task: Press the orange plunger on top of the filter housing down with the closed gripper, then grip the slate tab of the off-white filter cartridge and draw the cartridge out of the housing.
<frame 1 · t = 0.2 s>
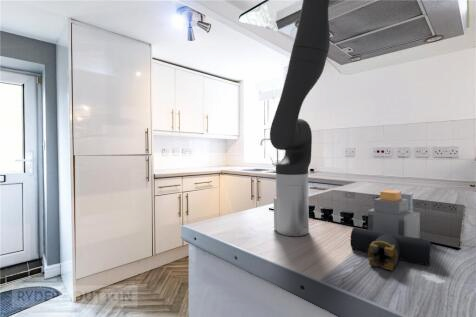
housing: (393, 239, 66), on the counter
plunger: (390, 197, 64), point 12 cm above the counter, slide at 0.0 cm
pipe connector: (385, 261, 55), on the counter
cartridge: (396, 215, 67), point 6 cm above the counter, slide at 0.0 cm
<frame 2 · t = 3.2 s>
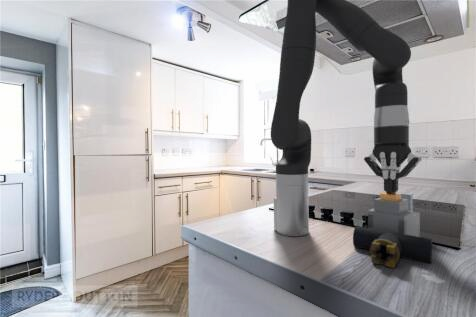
hand: (391, 193, 64), 13 cm above the counter, tool pointing down, fingers closed
plunger: (390, 199, 64), point 11 cm above the counter, slide at 0.5 cm, touching gripper
pipe connector: (387, 259, 56), on the counter
everything else where it was.
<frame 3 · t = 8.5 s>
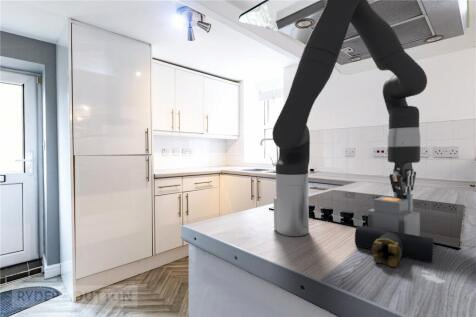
hand: (403, 207, 70), 8 cm above the counter, tool pointing down, fingers closed on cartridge
plunger: (390, 204, 64), point 10 cm above the counter, slide at 2.0 cm
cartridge: (396, 215, 67), point 6 cm above the counter, slide at 0.0 cm, touching gripper
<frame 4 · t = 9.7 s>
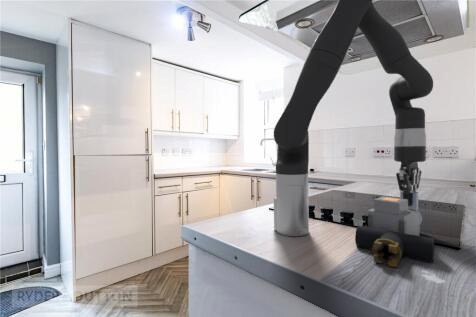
hand: (409, 204, 73), 8 cm above the counter, tool pointing down, fingers closed on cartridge
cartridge: (402, 212, 70), point 6 cm above the counter, slide at 4.8 cm, touching gripper
everything else where it was.
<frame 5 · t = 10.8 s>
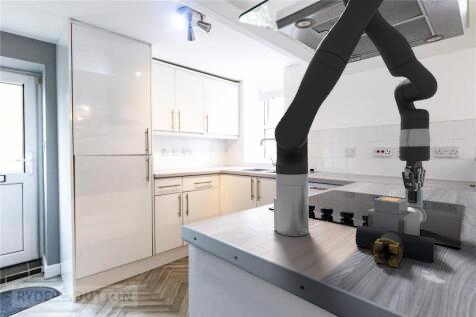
hand: (413, 202, 75), 8 cm above the counter, tool pointing down, fingers closed on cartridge
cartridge: (408, 210, 72), point 6 cm above the counter, slide at 8.9 cm, touching gripper
everything else where it was.
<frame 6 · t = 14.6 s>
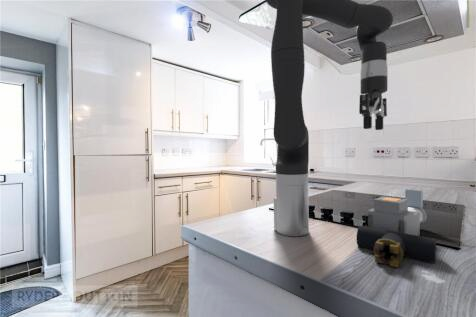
hand: (373, 129, 80), 30 cm above the counter, tool pointing down, fingers open, 8 cm apart
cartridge: (408, 210, 72), point 6 cm above the counter, slide at 8.9 cm
everything else where it was.
at the end: plunger slide at 2.0 cm; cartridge slide at 8.9 cm; the gripper is holding nothing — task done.
